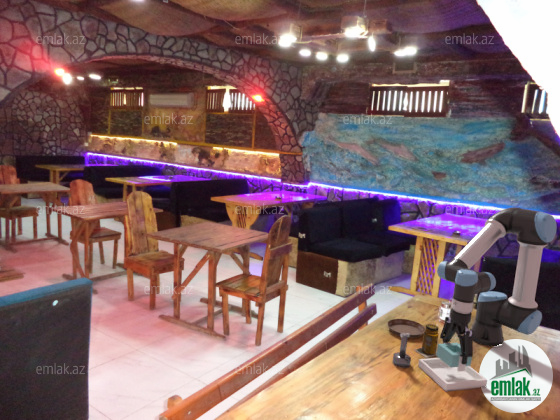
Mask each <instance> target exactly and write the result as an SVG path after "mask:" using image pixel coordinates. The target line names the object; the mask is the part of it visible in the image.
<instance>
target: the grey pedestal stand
mask: <svg viewBox="0 0 560 420" xmlns="http://www.w3.org/2000/svg"><path fill="white" fill-rule="evenodd" d="M399 337H400V338H401V340H400V348H399V352H394V353H393V356H392V364H393V365H394V366H396V367H398V368H402V369H407V368H410V366H411V361H412V357H411V356H410V355H409V354H407V346H408V339H409V338H408V337H410V334H409V333H401V334H400V336H399Z"/></svg>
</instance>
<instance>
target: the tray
mask: <svg viewBox="0 0 560 420" xmlns="http://www.w3.org/2000/svg"><path fill="white" fill-rule="evenodd" d="M417 366H418V368H419V369H421V370H422V372H424V373H425V374H426V375H427V376H429V378H430V379H432V381H433V382H435V383H436V384H437V386H439V387H440V388H442V390H443V391H445V392H454V391H463V390H464V391H465V390H473V389H480V387H482V388H486V387H487V384H488V379H487V378H486V377H484V376H483V375H482V374H480V373H479V372H478V371H476V369H474V368H473V367H471V366H465V371H460V372H458V371H457V369H458V367H450V366H448V365H447V364H446V363H445V362H443V361H442V360H441V359H440V358H439V357H429V358H419V359H418V364H417ZM485 386H486V387H485Z"/></svg>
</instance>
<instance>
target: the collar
mask: <svg viewBox="0 0 560 420" xmlns="http://www.w3.org/2000/svg"><path fill="white" fill-rule="evenodd" d="M436 352H437V354H436V355H435V356H436V358H440V359H441V360H442V361H443V362H445V363H446V364H447V365H448V366H450V367H458V363H459V357H460V355H462V354H461V347H460V343H459V342H450V343H445V344H443V343H437V349H436ZM472 358H473V357H468V359H467V364H466V365H465V366H470V367H471V365H472Z"/></svg>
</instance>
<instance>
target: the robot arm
mask: <svg viewBox="0 0 560 420" xmlns="http://www.w3.org/2000/svg"><path fill="white" fill-rule="evenodd" d="M557 227H558V226H557V222H556V219H555V217H554V216H553V215H551V214H550V213H548V212H547V213H546V212H543V211H539V210H532V209H526V208H521V207H515V206H513V207H507V208H505V209H502V210H500V211H497V212H495V213H494V214H493V215H491V216H490V217H489V218H488V219H487V220H486V221H485V222H484V226H483V228H482V229H480V230H479V231H478V232H477V233H476V234H475V236H474V237H472V239H471V240H470V241H469V242H468V243H467V244H466V245H465V246H464V247H463V248H462V249H461V250H460V251H459V253H457V254H456V255H455V256H454V258H453V259H451V260H449V261H448V260H447V261H446V260H443V261H441V262H439V264H438V266H437V269H436V273H437V276H438V277H439V278H440V279H442V280H445V281H446V282H450V283H453V284H454V287H453V295H452V299H451V308H450V312H449V316H445V317H444V323H443V326H442V329H441V332H440V336H439V338H440V339H441V340H442V344H445V343H452V342H451V340H452V338H453V337H454V335H455V334H457V338H458V339H459V341H458V342H459V344H460V347H461V354H462V355H460V357H459V363H458V369H457V371H458V372H460V371H465V365H466V364H467V359H468V357H472V358H473V355H474V353H473V351H474V345H473V344H474V342H475V343H477V344H480V345H481V346H485V347H486V346H488V347H491V346H497V345H499V344H502V343H503V344H504V340H505V337H504V333H503V326H504V327H506V328H508V329H511V330H512V331H515V332H517V333H520V334H523V335H526V336H528V335H531V334H533V333H534V332H535V331H536V330H537V329H538V328H539V326H540V324H541V322H542V320H543V314H542V312H541V311H540V310H538V306H539V305H538V303H537V302H536V301H535V298H536V293H537V286H538V280H539V276H540V275H539V274H540V268H541V261H542V255H543V250H544V248H545V247H546V246H548V245H549V243H550V242H552V241H553V240H554V239H555V236H556V234H557V230H558V229H557ZM507 234H512V235H516V241H517V243H518V244H519V250H518V255H517V256H518V257H517V263H516V270H515V277H514V283H513V289H512V296H510V297H509V298H508V295H507V294H506V293H504V292H500V291H493V290H494V288H495V287H496V286H497V285H496V284H497V280H496V277H495V276H494V274H492V273H491V272H487V271H482V272H479V271H477V270H473V269H471V268H472V267H473V266H474V265H475V264H476V263H477V262H478V261H479V260H480V259H481V258H482V256H483V255H485V254H486V253H487V252H488V251H489V249H491V247H492V246H494V244H495V243H496V242H497V241H498V240H499V239H500V238H504V237H505V236H506V235H507ZM478 294H479V296H478V298H477V299H478V300H477V303H476V305H477V306H476V311H475V317H474V318H475V319H474V322H473V323H472V325H471V326H470V328H469V324H470V323H471V320H472V312H473V311H474V310H473V309H474V301H475V296H476V295H478Z"/></svg>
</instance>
